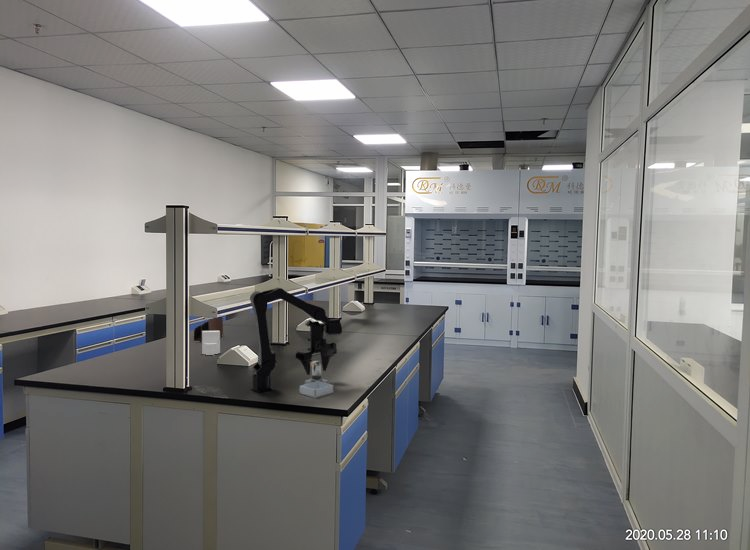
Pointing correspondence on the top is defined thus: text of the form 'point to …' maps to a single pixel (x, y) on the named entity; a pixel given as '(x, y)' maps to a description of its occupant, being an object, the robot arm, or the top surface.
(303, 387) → the bin
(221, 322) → the letter holder
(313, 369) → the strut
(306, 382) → the mount
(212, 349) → the cylinder with rectangular tab
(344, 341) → the top surface
